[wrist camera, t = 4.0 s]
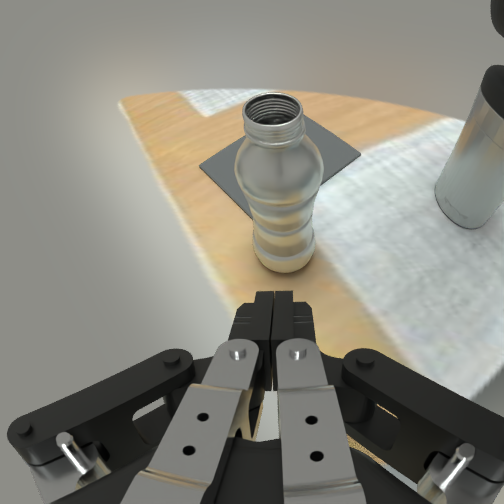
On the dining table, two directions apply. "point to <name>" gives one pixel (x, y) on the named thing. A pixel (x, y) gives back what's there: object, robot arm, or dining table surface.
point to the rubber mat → (328, 144)
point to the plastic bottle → (279, 180)
